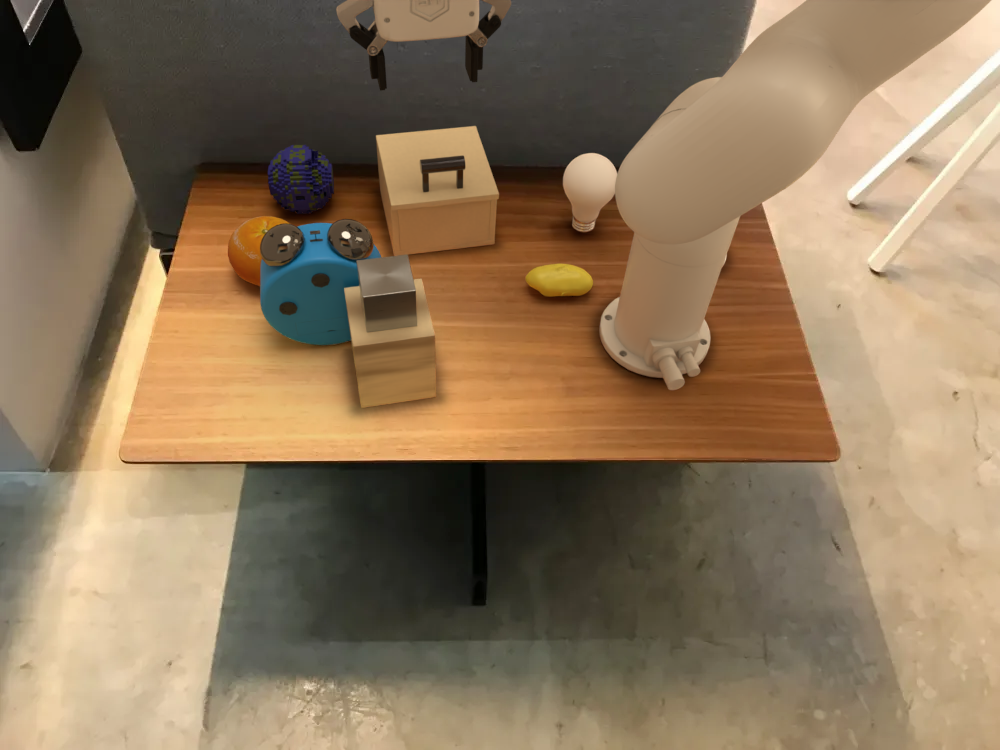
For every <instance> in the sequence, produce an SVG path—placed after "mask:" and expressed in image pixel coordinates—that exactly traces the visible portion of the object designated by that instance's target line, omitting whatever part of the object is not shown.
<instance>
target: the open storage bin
mask: <svg viewBox="0 0 1000 750" xmlns="http://www.w3.org/2000/svg"><path fill="white" fill-rule="evenodd" d="M375 143H376V155H377V168H378V169H377V170H378V182H379V192H380V196H381V201H382V207H383V210H384V215H385V221H386V226H387V230H388V235H389V240H390V244H391V248H392V253H393V256H398V255H408V256H409V255H415V254H424V253H434V252H441V251H449V250H458V249H465V248H473V247H474V248H475V247H483V246H484V247H485V246H491V245H492V246H493V245H495V241H496V240H495V239H496V224H497V222H496V221H497V208H498V207H497V206H498V199H494V200H485V201H476V202H467V203H458V204H449V205H440V206H431V207H421V208H412V209H403V210H394V211H392V210H391V205H390V201H389V196H388V192H387V187H386V183H385V178H384V174H383V169H382V165H381V160H380V156H379V151H378V146H377V142H376V141H375Z"/></svg>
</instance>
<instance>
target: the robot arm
mask: <svg viewBox="0 0 1000 750" xmlns="http://www.w3.org/2000/svg"><path fill="white" fill-rule="evenodd" d="M481 1H482V2H485V3H487V4H489V5H491V7H490V10H489V11H488V12H486V14H485V15H484V16H482V17H481V19H480V0H345V1H343V2H341V3H340V4H339V5H337V6H336V9H335V11H336V16H337V18H338V20H339V22H340V23H341V25H342V26H343V27H344V29H345V30H346V32H347V33H348V34H349V36H350V38H351V39H352V40H353V41H354V42H355V43H357V44H358V45H359V46H361V47H362V48H363V49H364V50H366V52H367V55H368V64H369V74H370V78H371V80H377V85H378V89H379V92H380V91H381V92H382V91H386V89H388V85H387V84H388V83H387V71H386V57H385V52H384V49H383V48H384V47H385V46H386V44H387V43H388V42H393V43H394V42H395V43H398V42H399V43H400V42H413V41H414V42H415V41H429V40H440V39H441V40H442V39H451V38H463V37H465V42H464V43H465V44H464V45H465V46H464V47H465V49H464V50H465V52H464V56H465V57H464V67H465V71H466V74H467V76H468V79H469V82H471V83H478V79H479V77H478V74H479V73H478V72H479V71H482V70H483V68H484V67H483V65H484V47H486V46H487V44H488V39H489V38H491V36H492V35H494V34H495V33H496V32H497V31H498V30H499V29H500V27H501V26H502V21H503V19H504V18H505V17H506V15H507V13H508V11H509V10H510V8H511V6H512V1H511V0H481ZM991 2H992V0H805V1H804V2H802V3H800V5H798V6H797V7H795V8H794V9H793V10H792V11H790V12H789V13H787V14H786V15H785V16H783V17H782V18H781V19H779V20H777V21H776V22H775V23H773V24H772V25H770V26H769V27H768V28H766V29H765V30H763V31H762V32H761V33H760V34H759V35H758V36H756V37H755V38H754V39H753V41H751V43H750V44H748V45H747V47H746V49H744V51H743V52H742V53H741V54H740V55H739V56H738V58H737V59H736V60H735V61H734V62H733V64H732V65H731V66H730V67H729V69H728V70H727V71H725V73H724V74H723V76H717V77H710V78H706V79H703V80H700V81H698V82H695V83H694V84H692V85H690V86H689V87H688V88H686V89H685V90H684V91H683V92H681V93H680V94H678V96H676V98H674V99H673V100H672V101H671V103H670V104H669V105H667V106H666V108H665V110H663V112H662V113H661V114H660V115H659V117H657V119H656V120H655V121H654V122H653V123H652V124H651V125H650V128H649V129H648V130H647V131H646V132H645V133H644V134H643V136H642V137H641V138H640V139H639V140H638V141H637V142H636V143H635V145H634V146H633V147H632V148H631V150H630V151H629V152H628V154H626V155H625V158H624V159H623V160H622V162H621V164H620V166H619V168H618V171H617V177H616V182H615V194H614V198H615V202H616V207H617V210H618V213H619V215H620V217H621V218H622V220H623V222H624V223H625V224H626V226H627V228H629V229H630V231H632V232H633V235H632V236H633V237H632V241H631V244H630V245H631V246H630V249H629V254H628V259H627V263H626V268H625V272H624V276H623V282H622V286H621V290H620V295H619V296H617V298H614V299H613V300H612V301H611V302H610V303H609V304H608V305H606V306H607V307H605V309H604V310H603V312H602V314H601V316H600V322H599V326H598V327H599V328H598V329H599V338H600V341H601V344H602V346H603V349H604V350H605V352H606V353H607V354H608V355H609V356H610V357H611V359H613V360H614V361H615V362H616V363H618V364H619V365H620V366H622V367H623V368H625V369H627V370H628V371H631V372H633V373H635V374H638V375H642V376H646V377H649V378H656V379H657V378H658V379H663V381H664V383H665V386H666V387H667V390H669V391H677V390H679V389H682V387H684V385H685V384H686V381H685V378H684V376H683V375H686V374H687V376H688V377H690V378H694V377H697V376H698V375H700V373H701V369H700V367H699V366H700V365H701V363H702V362H703V361H704V359H705V358H706V357H707V354H708V352H709V349H710V346H711V340H712V339H711V330H710V328H709V325H708V323H707V320H706V319H705V317H706V315H707V312H708V309H709V306H710V303H711V300H712V297H713V294H714V291H715V289H716V285H717V282H718V280H719V277H720V274H721V271H722V269H723V267H724V265H723V263H724V260H725V257H726V254H727V255H728V251H729V250H730V246H731V243H732V241H733V238H734V235H735V233H736V229H737V227H738V224H739V221H740V219H741V216H743V215H745V214H746V213H748V212H749V211H751V210H753V209H755V208H756V207H758V206H759V205H761V204H763V203H765V202H766V201H768V200H770V199H771V198H773V197H774V196H776V195H778V194H779V193H781V192H783V191H784V190H786V189H787V188H788V187H791V186H792V185H793V184H794V183H795V182H797V181H799V179H800V178H801V177H803V176H804V175H805V174H806V173H807V172H809V171H810V170H811V169H812V168H813V167H814V166H815V165H816V164H817V163H818V162H819V160H820V159H821V158H822V156H823V155H824V154H825V152H826V151H827V150H828V148H829V147H830V145H831V144H832V142H833V141H834V139H835V137H836V136H837V134H838V132H839V131H840V129H841V128H842V126H843V124H844V123H845V122H846V121H847V118H849V116H850V115H851V113H852V112H853V110H854V109H855V108H856V107H857V105H858V104H859V103H860V102H861V101H862V100H863V99H865V97H867V96H868V95H870V94H871V93H872V92H873V91H875V90H876V89H877V88H879V87H880V86H882V85H883V84H884V83H886V82H887V81H889V80H890V79H892V78H894V77H895V76H896V75H898V74H899V73H901V72H902V71H904V70H905V69H907V68H908V67H909V66H911V65H913V63H915V62H916V61H918V60H919V59H920V58H921V57H923V56H924V55H925V54H927V53H928V52H930V51H932V50H933V49H934V48H935V47H937V46H939V45H940V44H942V43H943V42H944V41H946V40H947V39H948V38H949V37H951V36H952V35H953V34H955V33H957V32H958V31H959V30H960V29H961V28H962V27H964V26H965V25H967V24H968V22H970V21H971V20H972V19H973V18H974V17H976V16H977V15H978V14H979V13H980V12H981V11H982V10H983V9H984V8H985V7H986V6H987V5H988V4H990V3H991ZM370 8H372V12H373V15H374V20H373V22H372V23H371V24H370V26H368V28H367V27H365V26H364V25H363V24H362V23H361V22H359V21H358V20H357V16H359V15H360V14H362V13H364V12H365V11H367V10H370ZM722 266H723V267H722Z"/></svg>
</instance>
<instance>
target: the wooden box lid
mask: <svg viewBox="0 0 1000 750" xmlns="http://www.w3.org/2000/svg"><path fill="white" fill-rule="evenodd" d="M478 131H479V130H478V128H477V126H476V125H471V126H460V127H450V128H449V127H448V128H440V129H439V128H438V129H428V130H417V131H408V132H407V131H406V132H397V133H386V134H376V135H375V143H376V142H377V145H376V147H377V146H378V151H379V156H380V160H381V165H382V169H383V174H384V178H385V183H386V187H387V192H388V196H389V201H390V205H391V210H392V211H394V210H403V209H412V208H421V207H431V206H440V205H449V204H458V203H467V202H476V201H485V200H494V199H497V200H499V199H500V192H499V189H498V187H497V184H496V181H495V178H494V176H493V175H494V174H493V172H492V169H491V167H490V163H489V161H488V158H487V155H486V151H485V149H484V146H483V144H482V143H483V142H482V140H481V138H480V134H479V132H478Z"/></svg>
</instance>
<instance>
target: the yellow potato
mask: <svg viewBox="0 0 1000 750" xmlns="http://www.w3.org/2000/svg"><path fill="white" fill-rule="evenodd" d="M524 279H525V282H526V284H527V285H528V286H529V287H530V288H531V289H534V290H536V291H537V292H539V293H540V294H541V295H543V296H544V297H547V298H548V297H551V298H552V297H572V296H573V297H579V296H583V295H586V294H587V293H588V292H590V291H591V289H592V287H593V286H594V280H593V278H592V275H591V274H589V272H588V271H586V270H585V268H582V267H580V266H577V265H575V264H570V263H559V262H558V263H550V264H544V265H540V266H536V267H534V268H532V269H531V270H530V271H529V272H527V274H526V275H525V277H524Z"/></svg>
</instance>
